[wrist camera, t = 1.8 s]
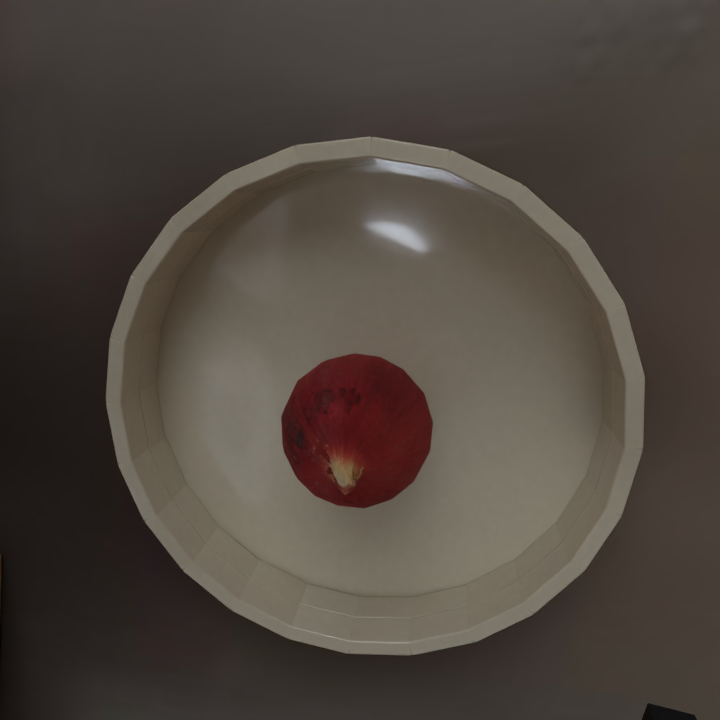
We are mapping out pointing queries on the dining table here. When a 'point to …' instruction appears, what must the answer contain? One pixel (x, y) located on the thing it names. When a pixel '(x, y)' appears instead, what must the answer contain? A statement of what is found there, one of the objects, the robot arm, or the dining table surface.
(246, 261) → the cream bowl
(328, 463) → the onion
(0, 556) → the stand
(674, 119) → the dining table surface
